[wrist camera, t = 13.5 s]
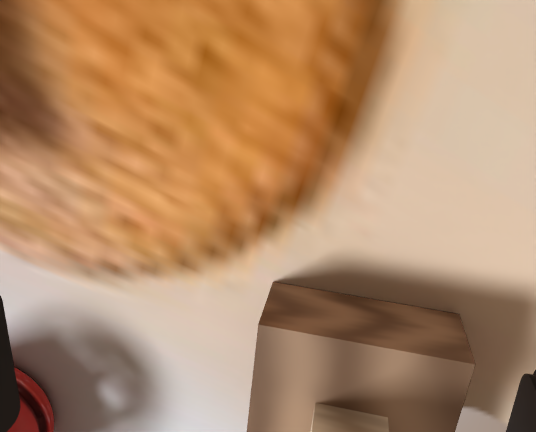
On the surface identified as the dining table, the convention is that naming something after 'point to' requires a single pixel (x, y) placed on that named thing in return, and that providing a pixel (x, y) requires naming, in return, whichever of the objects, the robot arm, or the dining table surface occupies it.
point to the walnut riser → (357, 362)
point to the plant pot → (32, 407)
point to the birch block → (346, 420)
